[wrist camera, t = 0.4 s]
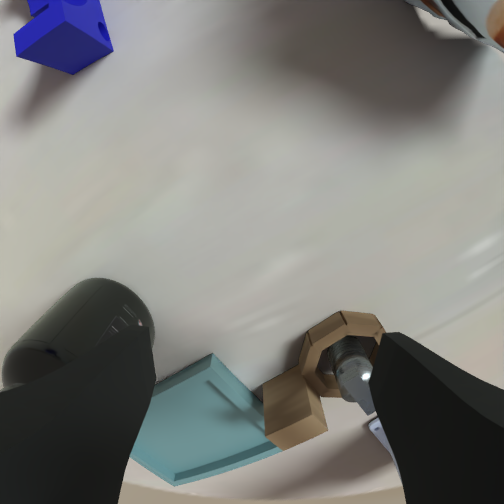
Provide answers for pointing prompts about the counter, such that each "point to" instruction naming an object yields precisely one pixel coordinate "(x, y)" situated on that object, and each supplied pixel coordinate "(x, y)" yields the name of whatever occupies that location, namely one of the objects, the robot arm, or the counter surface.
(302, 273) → the counter surface
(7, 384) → the supplement bottle
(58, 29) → the blue curved cradle
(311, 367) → the ring
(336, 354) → the grey cylinder and bar
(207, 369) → the tray
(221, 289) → the counter surface
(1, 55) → the counter surface
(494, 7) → the lucky cat figurine
